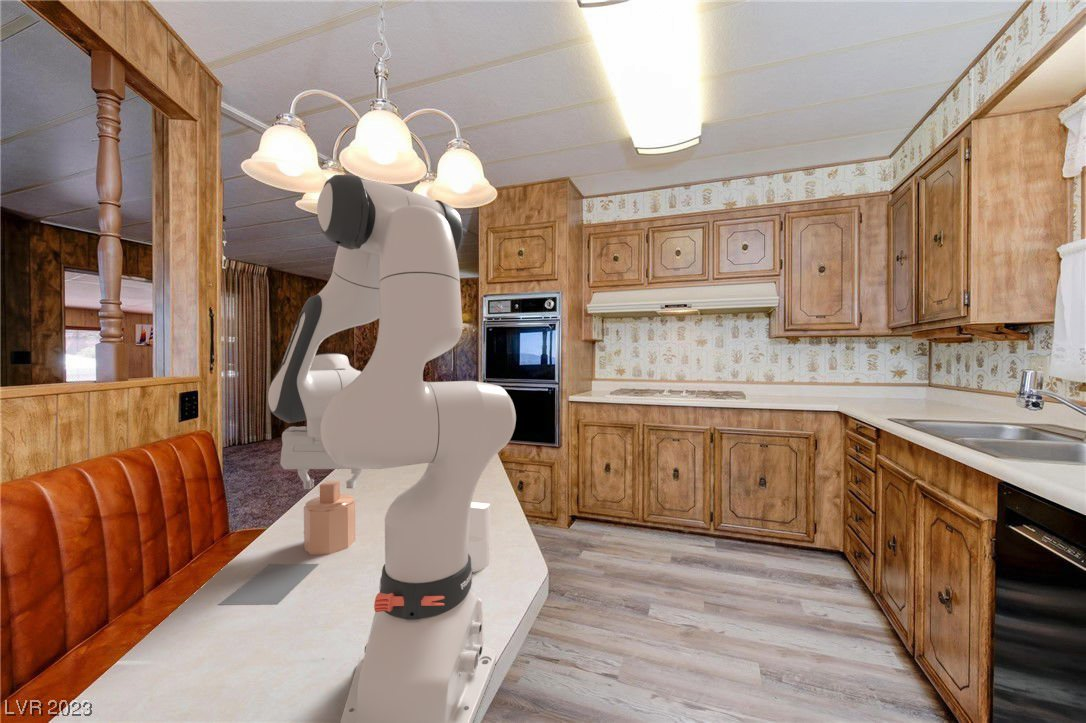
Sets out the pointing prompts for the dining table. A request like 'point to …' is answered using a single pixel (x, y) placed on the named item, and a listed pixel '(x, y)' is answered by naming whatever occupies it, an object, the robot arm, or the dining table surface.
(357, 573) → the dining table surface
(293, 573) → the mat
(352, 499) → the cloche
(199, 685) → the dining table surface
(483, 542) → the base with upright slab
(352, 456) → the robot arm
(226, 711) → the dining table surface
